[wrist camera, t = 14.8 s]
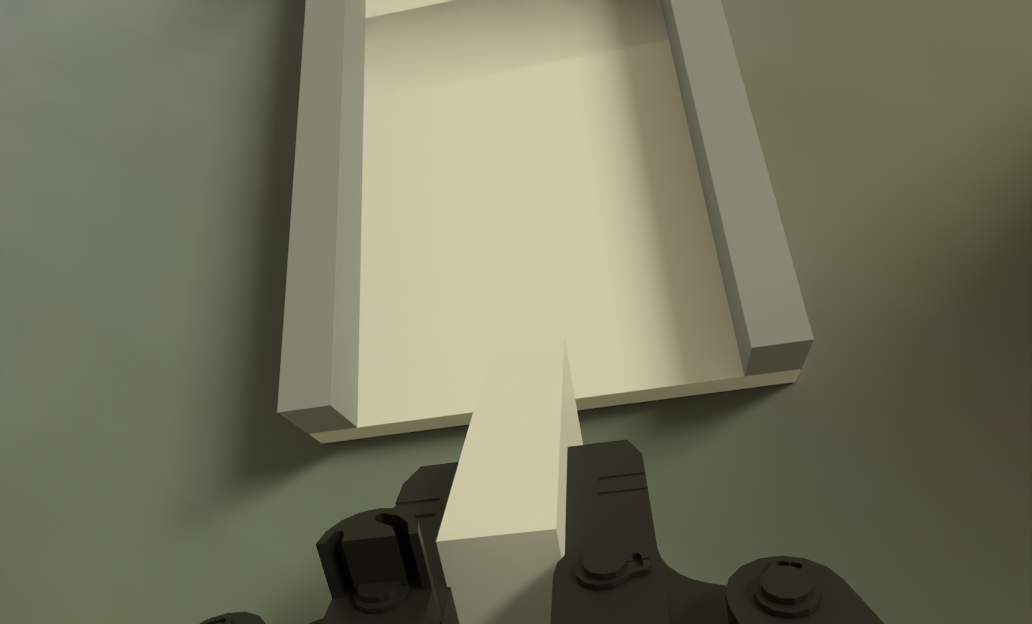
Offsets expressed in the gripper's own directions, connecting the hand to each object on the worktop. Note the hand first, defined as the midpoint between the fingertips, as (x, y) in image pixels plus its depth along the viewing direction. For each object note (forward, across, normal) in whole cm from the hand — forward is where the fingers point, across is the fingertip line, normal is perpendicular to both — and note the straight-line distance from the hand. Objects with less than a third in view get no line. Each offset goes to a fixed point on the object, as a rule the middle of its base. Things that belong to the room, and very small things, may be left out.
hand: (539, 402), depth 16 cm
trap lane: (+19, -1, +10) cm, 21 cm away
